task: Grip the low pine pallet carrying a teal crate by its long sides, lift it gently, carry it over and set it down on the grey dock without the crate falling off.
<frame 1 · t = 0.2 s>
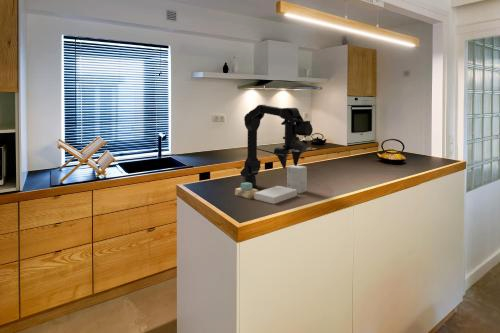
hand: (290, 167, 153), 14 cm above the table, tool pointing down, fingers open, 9 cm apart
dock: (275, 197, 153), on the table
small box: (296, 191, 164), on the table
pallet: (246, 196, 157), on the table, touching crate
crate: (246, 189, 156), point 3 cm above the table, touching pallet
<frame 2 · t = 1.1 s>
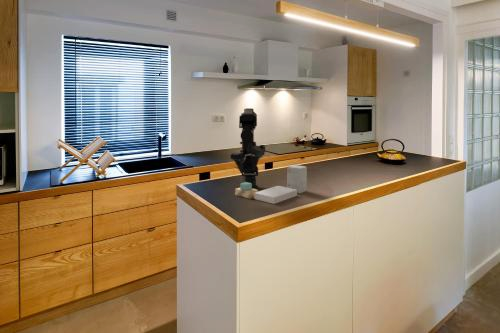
hand: (248, 171, 154), 12 cm above the table, tool pointing down, fingers open, 9 cm apart
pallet: (246, 196, 157), on the table
crate: (246, 189, 156), point 3 cm above the table
everything else where it was.
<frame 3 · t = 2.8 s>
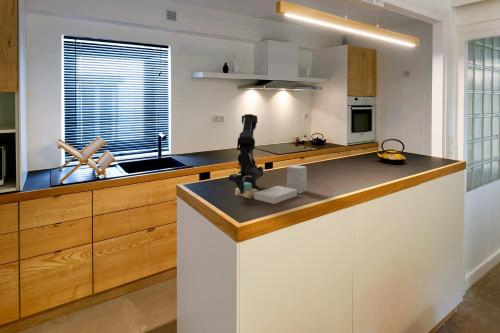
hand: (246, 192, 156), 2 cm above the table, tool pointing down, fingers closed on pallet, 6 cm apart
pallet: (246, 196, 157), on the table, touching gripper
everything else where it was.
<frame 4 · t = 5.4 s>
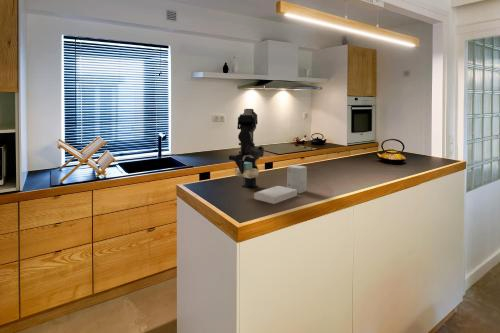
hand: (246, 172, 155), 11 cm above the table, tool pointing down, fingers closed on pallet, 6 cm apart
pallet: (246, 175, 155), point 10 cm above the table, touching crate, gripper
crate: (246, 168, 154), point 13 cm above the table, touching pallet
everything else where it was.
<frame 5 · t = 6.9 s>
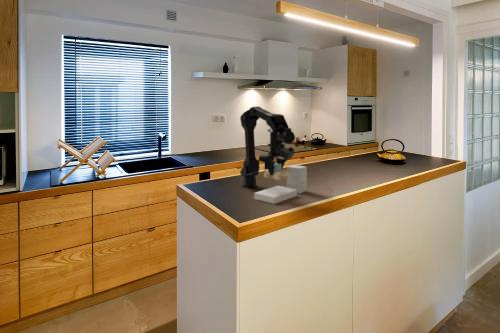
hand: (275, 174, 151), 11 cm above the table, tool pointing down, fingers closed on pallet, 6 cm apart
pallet: (276, 177, 151), point 10 cm above the table, touching crate, gripper
crate: (275, 170, 151), point 13 cm above the table, touching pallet
everything else where it was.
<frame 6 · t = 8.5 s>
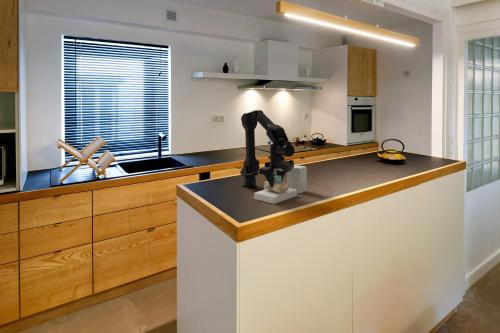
hand: (275, 186, 152), 5 cm above the table, tool pointing down, fingers closed on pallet, 6 cm apart
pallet: (275, 189, 152), point 4 cm above the table, touching crate, gripper
crate: (275, 182, 152), point 7 cm above the table, touching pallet
everything else where it was.
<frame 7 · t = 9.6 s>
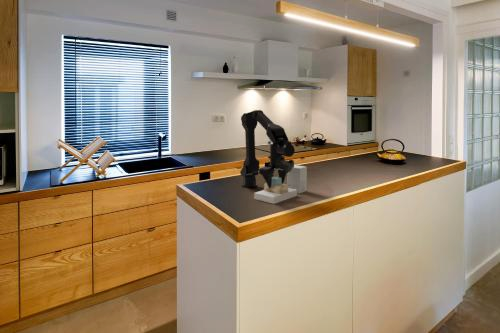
hand: (275, 186, 152), 5 cm above the table, tool pointing down, fingers open, 9 cm apart
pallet: (275, 191, 152), point 3 cm above the table, touching crate, dock
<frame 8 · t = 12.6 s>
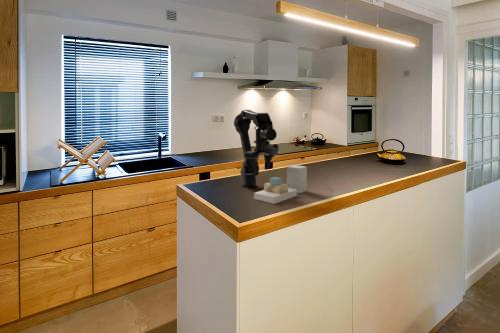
hand: (261, 169, 158), 12 cm above the table, tool pointing down, fingers open, 9 cm apart
nothing on the table moved.
at the end: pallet inside the target area on the dock (0.0 cm from its centre), point 3.0 cm above the dock's base; crate 0.1 cm off-centre on the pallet, point 3.5 cm above the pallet's base; the gripper is holding nothing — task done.
